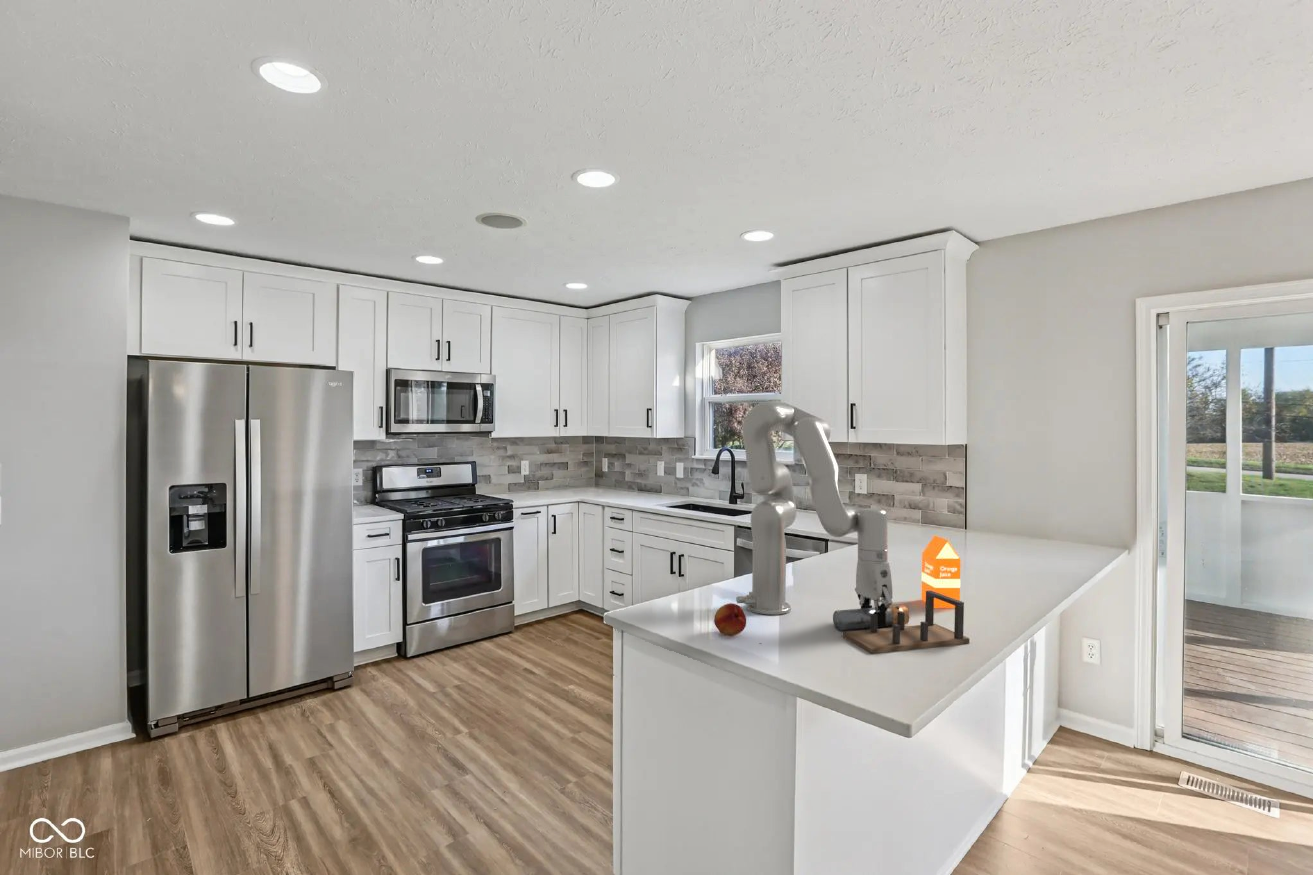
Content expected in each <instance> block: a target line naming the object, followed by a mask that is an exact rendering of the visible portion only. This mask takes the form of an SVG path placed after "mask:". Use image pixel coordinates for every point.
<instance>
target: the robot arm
mask: <svg viewBox="0 0 1313 875" xmlns="http://www.w3.org/2000/svg"><path fill="white" fill-rule="evenodd" d="M772 432H781V433H784V434H785V435H788V436H789V437H792V439H793V442H794V443H795V446H796V449H797V452H798V453H799V456H800V458H801V462H802V463H803V466H804V469H805V471H806V474H807V475H808V476H807V477H808V480H809V489H810V495H811V499H812V503H813V506H814V509H815V512H816V514H817V516H818V519H819V522H820V524H821V526H822V528H823V529H824V530H825V532H826V533H827V534H828V535H829V536H831V537H833V538H842V537H845V536H847V535H850V534H853V533H857V562H856V570H855V573H856V574H855V586H856V587H855V588H854V592H855V593H856V595H857V598H858V600H859V601H858V602H859V605H860V609H862V608H873V605H872V603H871V602H872V601H873V604H874V608H875V610H876V612H874V614H876V615H878V628H885V627H887V626H886V612H887V609H888V608H889V606H893V605H892V604H893V600H892V599H893V581H892V580H893V579H892V572H891V566H890V563H889V562H888V558H889V557H888V514H887V512H886V510H884V509H883V508H876V507H874V508H873V507H869V508H868V507H867V508H862V507H855V506H851V505H844V504H843V503H844V502H843V500H842V498H841V495H840V493H839V488H838V476H839V469H840V468H839V464H838V462H837V460H836V459H837V458H836V457H835V454H834V453H833V451H832V448H831V445H830V443H829V440H830V439H831V429H830V426H829V424H828V423H827V422H826V420H824V419H822V418H821V417H818V416H816V415H813V414H811V413H808V412H807V411H806V410H805V411H804V410H803V409H800V408H798V407H795V406H794V405H792V404H789V403H785V402H781V401H772V400H771V401H770V400H769V401H764V402H760V403H758V404H756V405H755V406H753V407H752V408H751V409H750V410H749V411H748V413H747V414H746V415H745V418H743V422H742V439H743V444H744V445H743V446H744V452H745V460H746V466H747V467H746V468H747V475H748V481H749V485H750V489H751V490H752V492H753V493H755V494H756V495H759V496H763V498H764V500H763V501H761V502H760V501H759V503H757V504H755V506H754V507H753V509H752V511H751V513H750V526H751V527H750V528H751V534H752V576H751V577H752V581H751V582H752V585H751V586H752V587H751V588H752V589H751V590H752V591H748V594H746V596H744V595H741V596H740V595H739V596H736V598H735V601H736V603H737V604H744V605H746V608H747V610H748V611H751V612H753V613H757V614H761V615H769V616H771V615H772V616H774V615H777V616H778V615H784V614H788V613H789V612H791V610H792V609H791V608H792V605H790V604H789V603H788V602H786V594H787V593H786V586H787V580H786V578H787V544H786V535H785V529H788V528H789V527H791V526H793V523H794V522H795V520H796V518H797V505H796V499H795V492H794V486H793V480H792V476H791V473H790V471H789V468H788V467H787V466H786V465H785V464H783V463H781V462H779V461H778V460H777V456H776V448H775V444H774V442H773V439H772ZM880 603H881V604H880Z"/></svg>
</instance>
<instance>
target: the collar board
mask: <svg viewBox="0 0 1313 875" xmlns="http://www.w3.org/2000/svg"><path fill="white" fill-rule="evenodd" d="M934 598H936V599H939V600H941V601H944V602H947V603H949V604H952V605H955V608H954V631H953V630H951V629H950V628H947V627H944V626H941V625H939V624H937V623H934V615H935V614H934V611H935V608H934ZM924 612H925V615H924V616H925V617H924V621H920V624H918V625H906V626H905V625H904V622H905V613H904V612H902V611H901V612H898V619H897V624H893V626H892V627H886V628H885V627H883V628H879V627H878V615H876V614H871V628H870V629H863V630H854V631H843V632H842V638H843V639H845V638H846V639H845V640H847V641H848V640H849V642H850V643H852V644H854V645H855V644H856V646H857V645H858V646H857V647H859V648H860V649H862V650H864V651H866V652H867V653H870V654H871V655H873V654H882V653H891V652H901V651H910V650H912V651H913V650H920V649H928V648H929V649H930V648H937V647H939V648H940V647H947V646H955V645H965V644H970V638H969V637H967V636H965V635H964V623H965V622H964V620H965V619H964V616H965V615H964V614H965V613H964V612H965V602H963V601H962V600H960V601H959V600H956V599H953V598H950V597H948V596H945V595H942V594H939V593H937V592H934V591H931V590H929V591H926V602H925V611H924Z"/></svg>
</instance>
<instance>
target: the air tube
mask: <svg viewBox="0 0 1313 875" xmlns="http://www.w3.org/2000/svg"><path fill="white" fill-rule="evenodd" d="M901 611H902V612H904V613H905V622H904V626H905V625H908V624H909V622H910V613H909V610H908V608H907V607H906V606H905V605H903V604H900V605H899V604H898V605H890V606H889V608H888V609H887V612H886V626H885V627H889V626H890V627H893V624H897V619H898V612H901ZM874 612H876V610H875V607H872V608H862V609H861V608H853V609H852V608H851V609H842V610H841V609H840V610H835V611H834V612H833V614H832V623H833V626H834V627H835V629H836V630H837V629H838V630H837V631H847V630H859V629H860V630H861V629H869V628H870V629H871V614H874Z"/></svg>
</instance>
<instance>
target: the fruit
mask: <svg viewBox="0 0 1313 875" xmlns="http://www.w3.org/2000/svg"><path fill="white" fill-rule="evenodd" d="M713 623H714V626H715V627H716V629H717V630H718V631H719V633H720V634H722V635H725V636H736V635H738V634H741V633H742V632H743V631H744V629H745V628H746V627H747V617H746V613H745V612H744V610H743V608H742V607H741V606H740V605H738V604H736V603H732V602H731V603H730V602H729V603H725V604H723V605H722V606H720V607H719V608H718V609H717V610H716V612H715V614H714V619H713Z"/></svg>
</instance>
